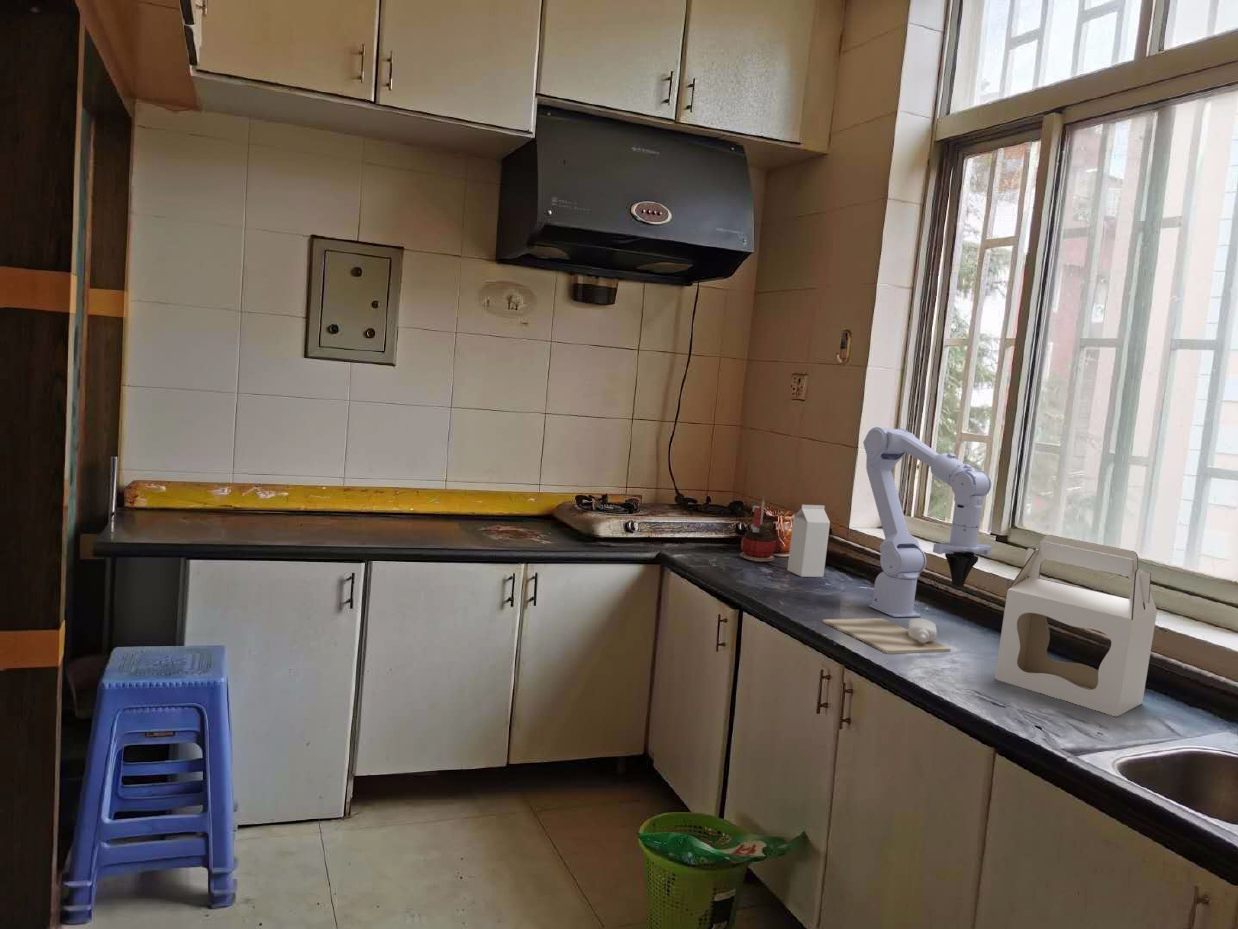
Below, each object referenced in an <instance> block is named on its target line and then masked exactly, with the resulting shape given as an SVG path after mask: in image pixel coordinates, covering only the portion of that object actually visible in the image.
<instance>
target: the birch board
mask: <svg viewBox="0 0 1238 929" xmlns="http://www.w3.org/2000/svg"><path fill="white" fill-rule="evenodd" d="M822 623H824V624H826V625H828V626H830V627H832V626H833V627H832V628H834V627H835V628H834V629H836V628H837V629H836V630H838V631H839V632H842V633H844V632H846V633H847V635H848V634H849V636H850V635H851V636H850V637H852V636H853V637H852V638H854V639H856V638H858V639H860V640H862V641H863V642H862V641H861V642H862V643H864V642H865V643H864V644H866V643H867V645H868V644H870V645H872V646H874V647H875V648H874V647H873V648H874V649H876V648H877V650H879V651H881V650H882V651H881V652H882V653H885V654H887V655H889V654H891V655H894V654H895V655H896V654H915V653H921V652H922V653H942V652H943V653H944V652H951V650H952V649H951V648H950V647H948V646H946V645H943V644H942V643H939V642H936V640H934V641H932V642H925V643H921V642H919V641H917V640H915V639H913V638H911V637H910V636H909V635H908V628H906V627H904V626H903V627H902V626H901V625H898V624H897V623H893V622H891V621H889V620H887V619H885V618H882V617H879V618H878V617H876V618H875V617H874V618H872V617H871V618H833V619H831V618H828V619H822ZM846 633H845V634H846ZM858 639H857V640H858ZM860 640H859V641H860ZM870 645H869V646H870ZM872 646H871V647H872Z"/></svg>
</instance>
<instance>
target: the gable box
mask: <svg viewBox="0 0 1238 929" xmlns="http://www.w3.org/2000/svg"><path fill="white" fill-rule="evenodd" d="M1039 544H1040V547H1037V548H1036V549H1035V548H1032V547H1027V552H1026V556H1025V560H1024V565H1023V567H1022V568H1021V569H1020V571H1019V572H1018V574H1017V575H1016V577H1015V578H1014V580H1013V581H1012V582H1011V584H1010V585H1009V587H1008V588H1007V591H1006V596H1005V597H1006V598H1005V605H1004V612H1003V619H1002V624H1001V625H1002V626H1001V633H1000V640H999V647H998V654H997V660H996V665H995V666H996V667H995V674H994V678H995V680H996V681H999V682H1002V683H1005V684H1008V685H1011V686H1014V687H1019V688H1021V689H1024V690H1028V691H1031V692H1034V693H1038V694H1040V693H1042V694H1041V695H1043V694H1045V696H1047V695H1048V696H1047V697H1050V696H1051V697H1050V698H1053V697H1054V698H1053V699H1056V698H1057V700H1059V699H1062V700H1061V701H1063V700H1065V701H1064V702H1066V701H1068V702H1067V703H1069V702H1071V703H1070V704H1072V703H1074V704H1073V705H1075V704H1077V705H1076V706H1079V705H1081V706H1080V707H1082V706H1084V707H1083V708H1085V707H1087V708H1086V709H1088V708H1090V709H1089V710H1091V709H1093V710H1092V711H1095V710H1096V712H1098V711H1100V712H1099V713H1101V712H1103V713H1102V714H1104V713H1106V714H1105V715H1108V714H1109V715H1108V716H1111V715H1112V717H1114V716H1115V717H1114V718H1117V717H1120V716H1121V715H1123V714H1125V713H1126V712H1128V711H1130V710H1132V709H1134V708H1136V707H1138V706H1139V705H1142V704H1143V702H1144V701H1143V700H1144V696H1145V695H1144V694H1145V688H1146V682H1147V676H1148V670H1149V663H1150V658H1151V653H1152V652H1151V650H1152V645H1153V639H1154V633H1155V626H1156V621H1157V620H1156V619H1157V615H1158V610H1157V607H1156V604H1155V601H1154V598H1153V596H1152V592H1151V583H1152V582H1151V579H1152V573H1151V572H1147V571H1143V569H1142V568H1139V555H1138V554H1137V552H1135V551H1133V550H1130V549H1124V548H1119V547H1113V546H1108V545H1104V544H1098V543H1094V542H1088V541H1083V540H1078V539H1073V538H1068V537H1062V536H1058V535H1057V536H1056V535H1054V534H1047V535H1045V536H1043V538H1042V540H1040V542H1039ZM1045 560H1046V561H1049V562H1051V561H1052V562H1058V563H1061V564H1062V563H1063V564H1067V565H1071V566H1077V567H1082V568H1086V569H1089V570H1090V569H1091V570H1095V571H1099V572H1100V571H1101V572H1106V573H1110V574H1114V575H1117V576H1119V575H1120V576H1121V577H1123V578H1124V577H1126V578H1129V580H1130V582H1131V583H1130V592H1129V597H1125V596H1124V597H1123V596H1120V595H1115V594H1111V593H1107V592H1102V591H1098V590H1094V589H1089V588H1085V587H1081V586H1075V585H1071V584H1066V583H1062V582H1058V581H1054V580H1049V579H1045V578H1041V577H1040V576H1041V568H1042V563H1043V562H1044V561H1045ZM1047 617H1048V618H1051V619H1053V620H1055V621H1057V622H1060V623H1062V624H1066V625H1068V626H1070V627H1075V628H1083V629H1090V630H1093V631H1096V632H1097V631H1098V632H1101V633H1102V634H1105V635H1106V636H1107V637H1108V638H1109V639H1110V642H1111V643H1110V648H1109V650H1108V651H1107V653H1106V655H1105V656H1104V657H1103V659H1102V661H1101V663H1100V665H1099V667H1098V669H1096V668H1094V667H1092V666H1089V665H1086V664H1083V663H1077V662H1063V661H1057V660H1055V659H1052V658H1050V657H1049V655H1048V647H1049V643H1050V639H1051V634H1050V627H1049V623H1048V619H1047Z"/></svg>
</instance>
